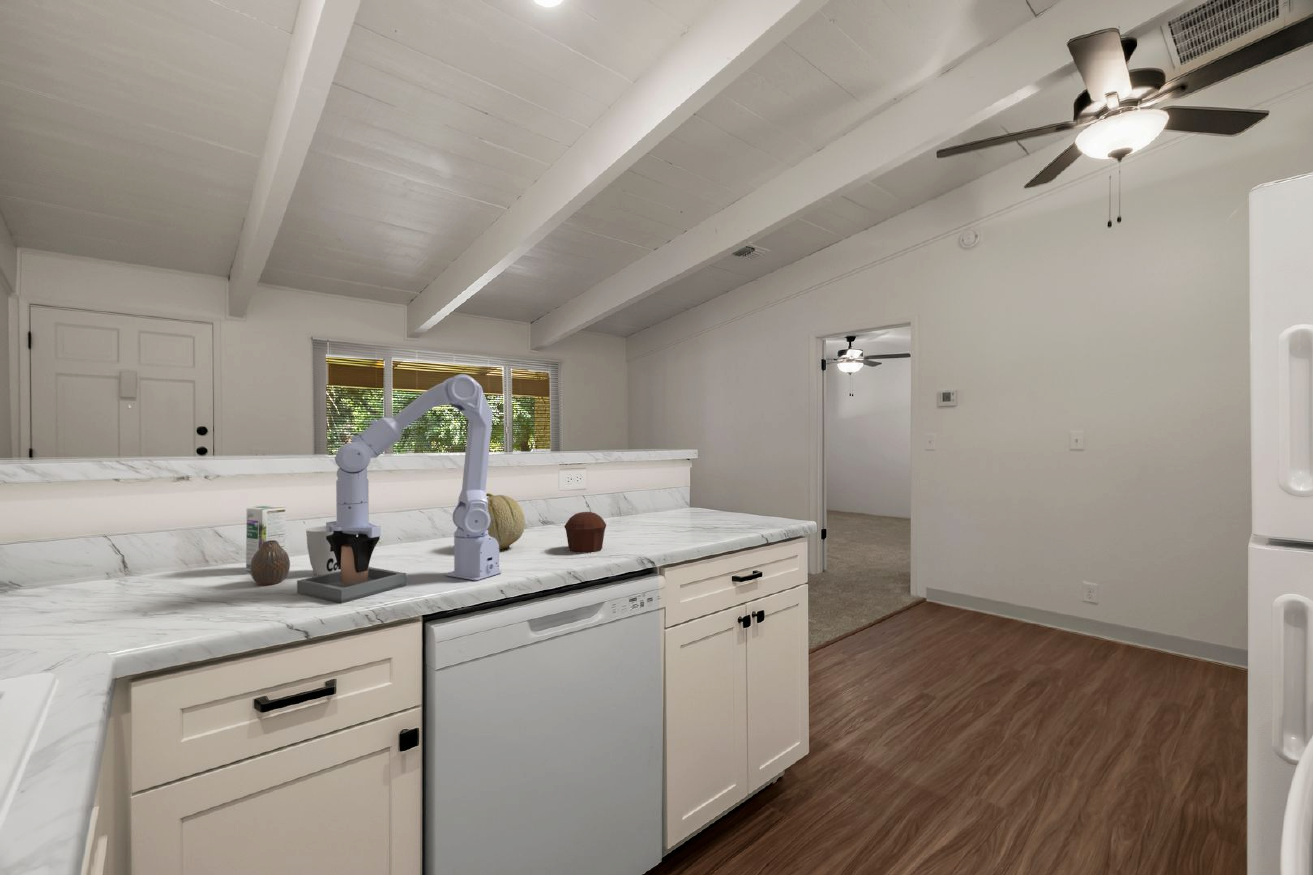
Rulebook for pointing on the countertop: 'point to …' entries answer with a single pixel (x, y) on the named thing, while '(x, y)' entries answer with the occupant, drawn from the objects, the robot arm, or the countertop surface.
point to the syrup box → (264, 528)
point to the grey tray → (350, 585)
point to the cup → (321, 551)
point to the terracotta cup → (350, 567)
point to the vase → (270, 564)
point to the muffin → (585, 532)
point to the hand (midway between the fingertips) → (353, 569)
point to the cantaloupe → (505, 519)
